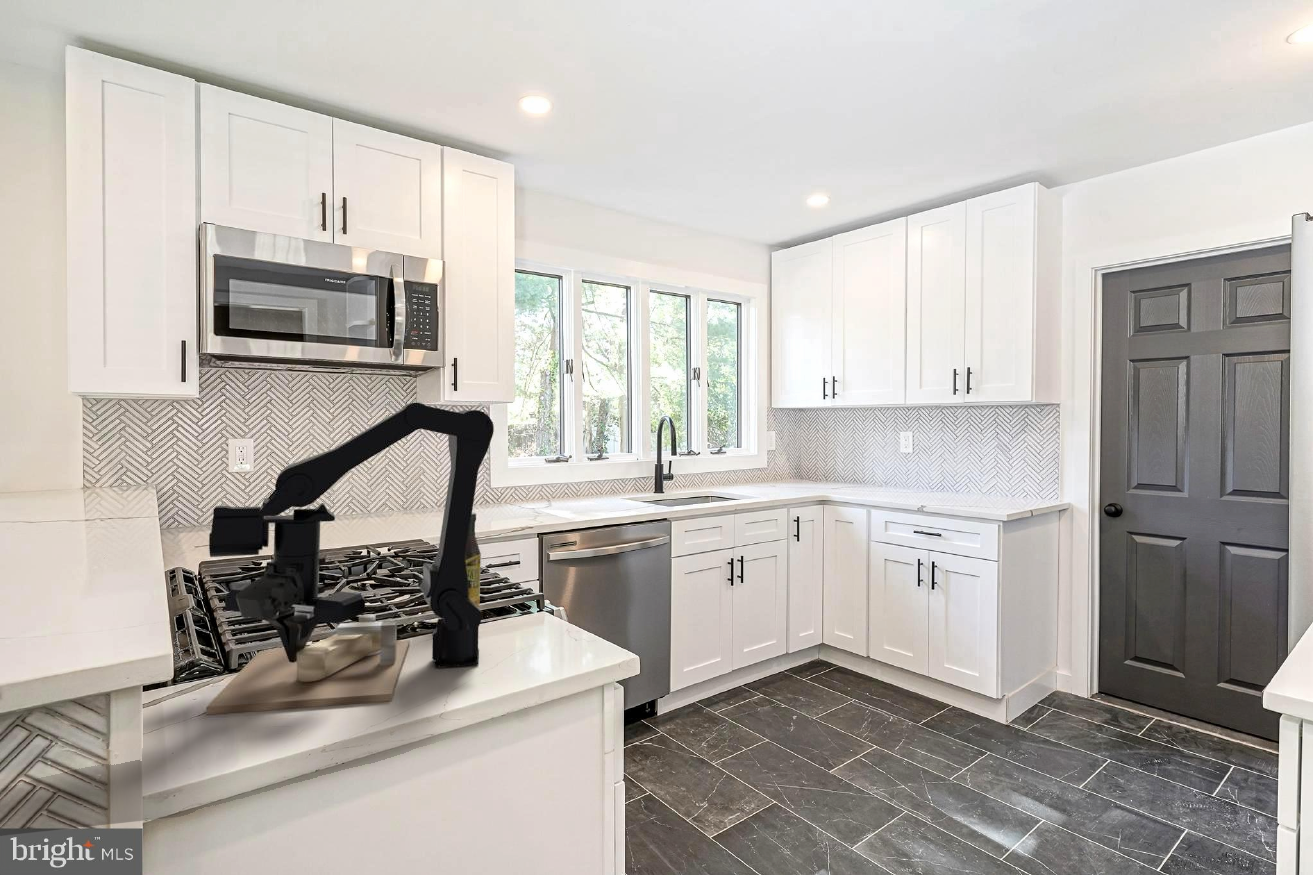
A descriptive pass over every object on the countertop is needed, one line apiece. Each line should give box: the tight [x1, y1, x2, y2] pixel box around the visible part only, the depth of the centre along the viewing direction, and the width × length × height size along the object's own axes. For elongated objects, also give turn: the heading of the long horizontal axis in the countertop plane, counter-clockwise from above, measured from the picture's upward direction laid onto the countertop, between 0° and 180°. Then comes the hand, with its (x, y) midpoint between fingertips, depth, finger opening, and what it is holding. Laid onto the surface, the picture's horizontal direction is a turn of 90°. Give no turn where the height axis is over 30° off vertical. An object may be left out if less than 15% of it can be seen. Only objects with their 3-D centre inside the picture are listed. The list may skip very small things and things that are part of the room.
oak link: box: [297, 620, 381, 682], centre depth 101 cm, size 16×5×4 cm, turn 168°
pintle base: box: [205, 613, 411, 716], centre depth 98 cm, size 22×22×7 cm
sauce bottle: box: [465, 511, 482, 608], centre depth 129 cm, size 6×6×20 cm
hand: (293, 661), depth 95 cm, fingers closed
